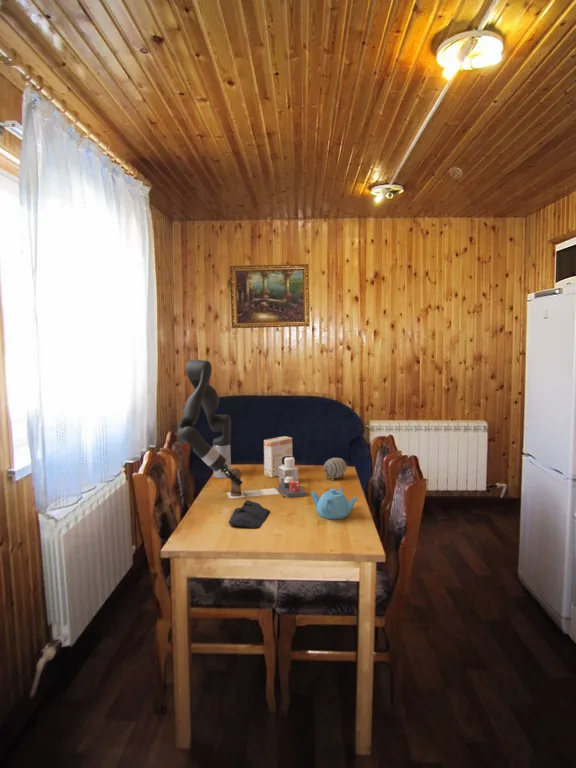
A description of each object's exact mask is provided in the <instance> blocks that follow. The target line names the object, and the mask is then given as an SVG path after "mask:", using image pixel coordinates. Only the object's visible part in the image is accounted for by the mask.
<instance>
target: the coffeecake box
mask: <svg viewBox="0 0 576 768" xmlns="http://www.w3.org/2000/svg"><path fill="white" fill-rule="evenodd" d="M263 454H264V455H263V466H264V467H263V468H264V471H263V472H264V473H263V474H264V476H266V477H268V478H275V476H276V477H279V466H282V458H283V457H285V456H292V457H293V437H290V436H285V435H284V436H278V437H272V438H267V439H264V440H263Z"/></svg>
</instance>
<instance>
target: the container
mask: <svg viewBox="0 0 576 768" xmlns="http://www.w3.org/2000/svg"><path fill="white" fill-rule="evenodd" d="M295 462H296V460H295V457H294V456H293V455H292V456H285V457H283V458H282V466H279V476H278V481H279V482H280V483H281V479H286V477H287V476H292V477H294V478H295V479H296V480H298V481H299V468H298V467H297V466H295Z"/></svg>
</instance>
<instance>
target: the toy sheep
mask: <svg viewBox="0 0 576 768" xmlns="http://www.w3.org/2000/svg"><path fill="white" fill-rule="evenodd" d="M347 467H348V465H347V462H346V461H345V460H344V459H343V458H341V457H332V458H329V459H327V460H326V461H325V462H324V465H323V468H322V469H321V471H322V472H324V473H325V474H326V475H325V479H326V480H329V479H330V478H331V481H332V482H334V481H335V479H340V477H341V478H342V479H345V477H346V476H345V472H346V470H347ZM329 477H330V478H329Z"/></svg>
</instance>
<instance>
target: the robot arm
mask: <svg viewBox="0 0 576 768" xmlns="http://www.w3.org/2000/svg"><path fill="white" fill-rule="evenodd" d="M212 371H213V370H212V364H211V362H210V361H208V360H201V359H198V360H197V359H191V360H188V361H187V362H186V365H185V373H186V376H187V378H188V380H189V381H190V383H191V385H192V387H193V388H194V391H193V392H192V393H191V394H190V396H189V397H188V398H187V399H186V402H185V404H184V407H183V412H182V418H181V421H180V423H179V425H178V428H177V432H176V439H177V441H178V442H179V443H180V444H182V445H184V444H185V445H186V444H188V445H190V447H191V448H192V451H193V453H194V454H195V455H197V456H198V457H199V458H200V459H201V460H202V461H203V462H204V463H205V465H207V466H208V467H209V468H210V469H211V470H213V477H214V478H217V479H225V478H228V479H230V481H231V480H232V481H234V482H235V483H237V484H238V485H239V486H240V485H241V486H242V484H243V480H240V479H239V478H237V476H235V475H234V472H233V471H232V469H233V468H232V463H231V462H232V461H231V460H232V459H231V458H232V457H231V453H232V452H231V435H232V433H231V432H232V428H231V427H232V419H231V416H230V415H229V414H216V413H215V412H216V410H217V409H218V407H219V404H220V398H219V395H218V392H217V391H216V389H215V387H213V386H212V385H211V384H210V383H209V382H210V379H211V376H212ZM201 406H202V409H203V410H204V413H205V417H206V419H207V422H208V426H209V429H210V430H211V431H212V432H215V433H217V432H218V433H222V435H221V436H218V437H215V438H214V439H213V440H212V445H210V444H209V443H208V441H206V440H205V439H204V438H203V436H202V434H200V433H199V431H198V430H197V429H196V428H195V425H196V423H197V422H198V421H199V415H200V411H201ZM231 472H232V473H231ZM232 476H234V477H233V478H231V477H232Z"/></svg>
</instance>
